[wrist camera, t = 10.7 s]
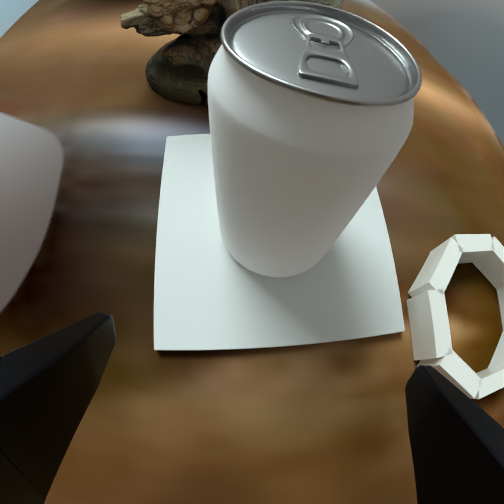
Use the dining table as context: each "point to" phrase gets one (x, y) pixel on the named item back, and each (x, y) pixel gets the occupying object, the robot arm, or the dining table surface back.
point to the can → (302, 127)
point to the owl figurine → (187, 41)
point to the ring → (436, 318)
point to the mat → (255, 285)
